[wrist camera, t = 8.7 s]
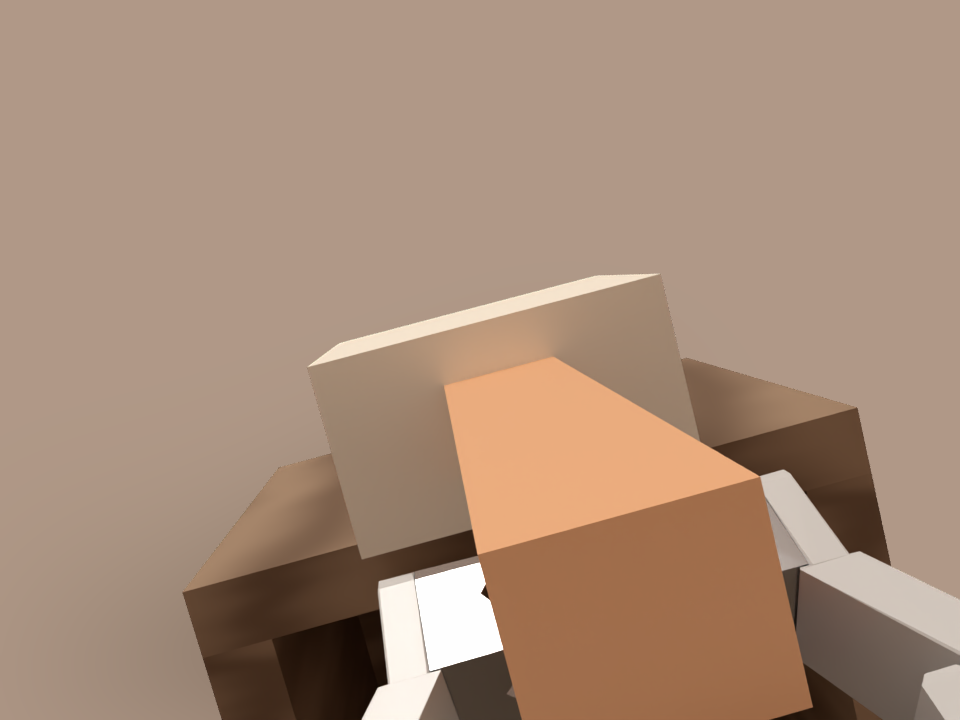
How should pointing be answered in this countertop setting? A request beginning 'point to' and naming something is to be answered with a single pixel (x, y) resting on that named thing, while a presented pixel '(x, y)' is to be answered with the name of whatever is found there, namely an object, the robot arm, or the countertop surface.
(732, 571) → the cream block mallet
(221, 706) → the walnut stand
